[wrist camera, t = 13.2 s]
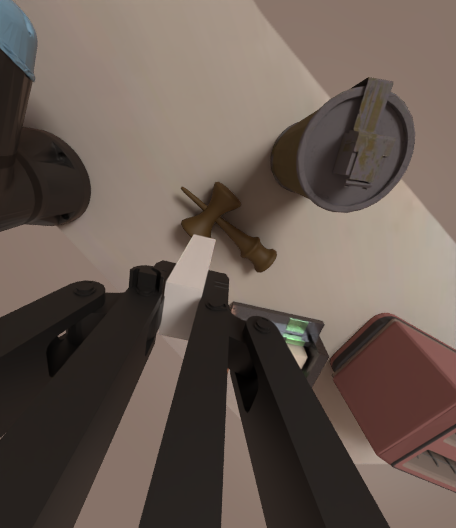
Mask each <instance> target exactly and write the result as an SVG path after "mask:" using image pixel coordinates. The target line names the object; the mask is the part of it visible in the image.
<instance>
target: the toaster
mask: <svg viewBox="0 0 456 528" xmlns="http://www.w3.org/2000/svg"><path fill="white" fill-rule="evenodd" d="M330 364H331V367H332V369H333V371H334V373H333V374H332V377H333V381H334V383H335V384H336V386H337V388H338V389H339V391H340V393H341V395H342V396H343V398H344V400H345V401H346V403H347V405H348V407H349V408H350V410H351V412H352V414H353V415H354V417H355V419H356V420H357V422H358V424H359V426H360V427H361V429H362V431H363V433H364V434H365V436H366V438H367V439H368V441H369V443H370V445H371V446H372V448H373V450H374V452H375V453H376V455H377V456H378V457H380V458H381V459H383V460H384V461H386V462H387V463H388V464H390V465H391V466H392V467H394V468H396V469H399V470H401V471H404V472H406V473H408V474H411V475H413V476H416V477H418V478H421V479H423V480H426V481H428V482H431V483H433V484H436V485H438V486H440V487H443V488H445V489H448V490H451V491H453V492H455V493H456V350H455V349H453V348H452V347H450V346H448V345H446V344H445V343H443V342H441V341H439V340H438V339H436V338H434V337H432V336H431V335H429V334H427V333H425V332H423V331H422V330H420V329H418V328H416V327H415V326H413V325H411V324H409V323H408V322H406V321H404V320H402V319H401V318H399V317H397V316H395V315H393V314H390V313H381V314H378V315H376V316H374V317H373V318H371V319H370V320H369V321H368V322H367V323H366V324H365V325H364V326H363V327H362V328H361V329H360V330H359V331H358V332H357V333H356V334H355V335H354V336H353V337H352V338H351V339H350V340H349V341H347V342H346V343H345V344H344V345H343V346H342V347H341V348H340V349H339V350H338V351H337V352H336V353H335V354H334V355H333V356H332V358H331V361H330Z"/></svg>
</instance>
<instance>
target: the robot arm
mask: <svg viewBox="0 0 456 528" xmlns="http://www.w3.org/2000/svg"><path fill="white" fill-rule="evenodd" d="M37 43H38V41H37V35H36V32H35V29H34V27H33V25H32V23H31V21H30V20H29V18H28V17H27V16H26V14H25V13H24V12H23V11H22V10H21V9H20V8H19V7H18V6H17V5H16V4H15V3H14V2H13V1H12V0H0V232H1V231H4V230H7V229H10V228H13V227H17V226H20V225H23V224H29V225H45V226H56V225H62V224H65V223H68V222H71V221H73V220H75V219H77V218H78V217H80V216H81V215H82V214H83V213H84V212H85V210H86V208H87V206H88V204H89V201H90V195H91V186H90V180H89V176H88V173H87V171H86V168H85V166H84V164H83V163H82V161H81V159H80V158H79V156H78V155H77V154H76V153H75V151H74V150H73V149H72V148H71V147H70V146H69V145H68V144H67V143H65V142H64V141H63V140H61V139H60V138H58V137H57V136H55V135H53V134H51V133H49V132H46V131H43V130H39V129H33V128H26V127H22V126H23V122H24V117H25V113H26V108H27V104H28V99H29V95H30V91H31V86H32V82H35V76H34V66H35V58H36V52H37ZM215 241H216V239H212V238H207V237H203V236H199V235H195V234H194V235H193V236H192V238H191V240H190V241H189V243H188V245H187V247H186V248H185V250H184V252H183V254H182V255H181V257H180V259H179V260H178V262H177V263H172V262H168V261H160V262H158V263H156V264H155V266H154V267H153V266H147V265H144V266H136V267H133V268H132V269H130V278H129V288H128V289H127V290H126V292H124V293H105V287H104V285H102V284H100V283H99V282H95V281H79V282H75V283H72V284H69V285H68V286H66V287H63V288H61V289H59V290H57V291H55V292H53V293H51V294H48V295H46V296H44V297H42V298H40V299H38V300H36V301H34V302H32V303H30V304H28V305H25V306H23V307H21V308H19V309H17V310H15V311H13V312H11V313H9V314H7V315H5V316H3V317H1V318H0V437H2V436H3V435H4V434H5V433H6V434H5V435H4V436H3V437H2V438H1V439H0V528H73V527H74V525H75V523H76V520H77V518H78V516H79V514H80V511H81V509H82V507H83V505H84V502H85V500H86V498H87V495H88V493H89V491H90V489H91V486H92V484H93V482H94V480H95V477H96V475H97V473H98V471H99V468H100V466H101V464H102V462H103V459H104V457H105V455H106V452H107V450H108V448H109V446H110V443H111V441H112V439H113V437H114V434H115V432H116V430H117V428H118V425H119V423H120V421H121V418H122V416H123V414H124V411H125V409H126V407H127V405H128V403H129V400H130V398H131V396H132V393H133V391H134V389H135V387H136V384H137V382H138V380H139V378H140V376H141V373H142V371H143V369H144V366H145V364H146V362H147V360H148V357H149V355H150V353H151V351H152V348H153V346H154V344H155V338H156V333H157V331H158V329H159V334H160V335H164V336H169V337H174V338H179V339H184V340H189V341H188V344H187V348H186V352H185V356H184V359H183V363H182V367H181V371H180V374H179V378H178V382H177V386H176V390H175V393H174V397H173V400H172V404H171V408H170V412H169V415H168V419H167V423H166V427H165V430H164V434H163V438H162V442H161V446H160V449H159V453H158V457H157V460H156V464H155V468H154V472H153V475H152V479H151V483H150V487H149V490H148V494H147V498H146V501H145V505H144V509H143V513H142V516H141V520H140V524H139V528H221V513H222V489H223V488H222V487H223V465H224V441H225V440H224V439H225V417H226V393H227V369H230V375H231V379H232V383H233V387H234V392H235V396H236V400H237V404H238V408H239V413H240V417H241V421H242V425H243V429H244V433H245V438H246V442H247V446H248V450H249V454H250V458H251V463H252V466H253V471H254V475H255V479H256V484H257V488H258V492H259V496H260V500H261V504H262V509H263V513H264V517H265V521H266V525H267V528H390V527H389V525H388V523H387V521H386V520H385V518H384V516H383V515H382V512H381V511H380V509H379V507H378V505H377V504H376V502H375V500H374V498H373V496H372V495H371V493H370V491H369V490H368V488H367V486H366V484H365V482H364V481H363V479H362V477H361V475H360V473H359V472H358V470H357V468H356V466H355V464H354V463H353V461H352V459H351V457H350V456H349V454H348V452H347V450H346V448H345V447H344V445H343V443H342V441H341V440H340V438H339V436H338V434H337V432H336V431H335V429H334V427H333V425H332V424H331V422H330V420H329V418H328V416H327V415H326V413H325V411H324V409H323V408H322V406H321V404H320V402H319V400H318V399H317V397H316V395H315V393H314V392H313V390H312V388H311V386H310V384H309V383H308V381H307V379H306V377H305V375H304V374H303V372H302V370H301V368H300V367H299V365H298V363H297V361H296V359H295V358H294V356H293V354H292V352H291V351H290V349H289V347H288V345H287V343H286V342H285V340H284V338H283V336H282V335H281V333H280V331H279V329H278V327H277V326H276V325H275V324H274V323H273V322H272V321H270V320H269V319H267V318H264V317H261V316H251V317H249V318H248V319H247V321H245V320H242V319H240V318H238V317H236V316H235V315H234V314H232V312H231V311H230V307H229V305H228V292H229V278H228V277H227V275H226V274H224V273H219V272H215V271H210V270H209V267H210V263H211V259H212V254H213V250H214V245H215ZM65 330H66V333H65V334H64V335H62V336H60V337H58V335H59V334H61V333H62V332H64V331H65Z"/></svg>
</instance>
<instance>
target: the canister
mask: <svg viewBox="0 0 456 528" xmlns="http://www.w3.org/2000/svg"><path fill="white" fill-rule="evenodd" d="M392 86H393V81H387V80H382V79H376V78H370V77H368V78H366V79H365V80H363V81H362V82H360V83H359V84H357V85H355V86H354V87H352V88H351V89H349V90H347V91H344V92H342V93H340V94H338V95H337V96H335V97H333V98H331V99H330V100H329V101H328V102H326V103H325V104H324V105H323V106H322V107H321V108H320V109H319V110H317V111H316V112H314V113H313V114H311V115H309V116H308V117H306V118H305V119H303V120H301V121H300V122H297V123H295V124H293V125H291V126H289V127H288V128H287V129H286V130H284V131H283V132H282V134H281V135H280V136H279V137H278V139H277V141H276V142H275V145H274V147H273V150H272V155H271V169H272V172H273V175H274V177H275V179H276V180H277V182H278V183H279V184H280V185H281V186H282V187H284V188H285V189H287V190H289V191H292V192H296V193H298V194H300V195H302V196H304V197H306V198H308V199H310V200H311V201H312V202H313V203H314V204H316V205H317V206H319V207H321V208H323V209H325V210H328V211H332V212H344V213H348V212H353V211H358V210H361V209H364V208H367V207H369V206H371V205H373V204H375V203H377V202H378V201H379V200H381V199H382V198H383V197H385V196H386V195H387V194H388V193H389V192H390V191H391V190H392V189H393V188H394V187H395V186H396V184H397V183H398V182H399V181H400V179H401V178H402V176H403V174H404V173H405V171H406V170H407V167H408V165H409V163H410V160H411V157H412V154H413V150H414V144H415V129H414V123H413V117H412V115H411V113H410V111H409V110H408V108H407V106H406V104H405V102H404V101H402V100H401V99H400V98H399V97H398V96H397V95H396V94H394V93H392V92H391V89H392Z"/></svg>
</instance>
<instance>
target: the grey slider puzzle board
mask: <svg viewBox="0 0 456 528" xmlns="http://www.w3.org/2000/svg"><path fill="white" fill-rule="evenodd" d="M231 312H232V314H234V315H235V316H236V317H238V318H240V319H242V320H245V321H247V319H248V318H249V317H251V316H261V317H264V318H267V319H269V320H270V321H272V322H273V323H274V324H275V325H276V326H277V327H278V329H279V331H280V333H281V335H282V336H283V338H284V340H285V342H286V343H289V344H294V345H299V346H304V349H305V352H306V354H307V359H306V361H305V363H304V365H303V367H302V369H301V370H302V372H303V374H304V375H305V377H306V379H307V381H308V383H309V384H310V386H311V388H312V386H313V384H314V383H315V381H316V379H317V377H318V376H319V374H320V372H321V370H322V369H323V367H324V365H325V363H326V362H327V360H328V358H329V355H328V353H327V351H326V349H325V347H324V345H323V343H322V341H321V339H320V337H319V334H320V332H321V330H322V328H323V327H324V323H323V321H320V320H315V319H311V318H306V317H302V316H297V315H293V314H288V313H284V312H279V311H274V310H270V309H265V308H261V307H256V306H252V305H247V304H242V303H238V302H233V304H232V307H231Z"/></svg>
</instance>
